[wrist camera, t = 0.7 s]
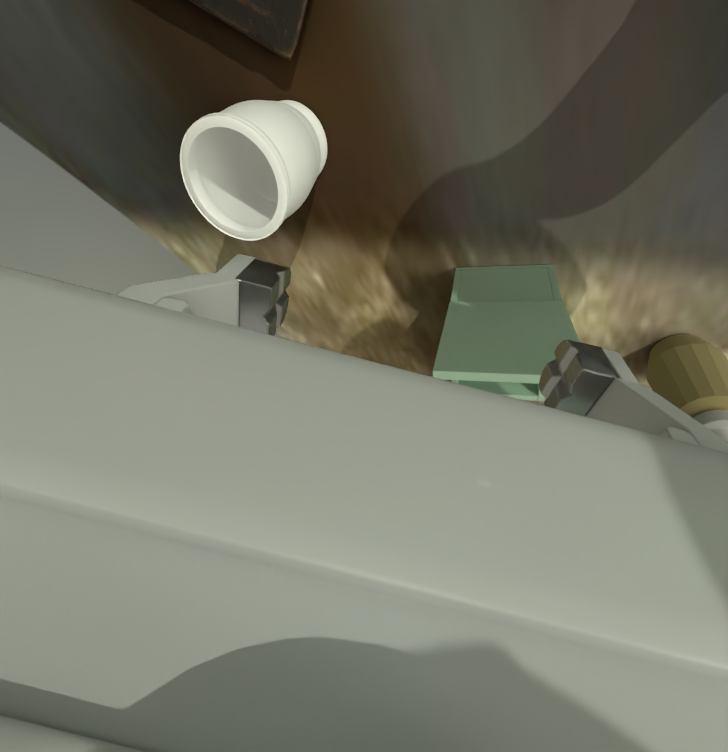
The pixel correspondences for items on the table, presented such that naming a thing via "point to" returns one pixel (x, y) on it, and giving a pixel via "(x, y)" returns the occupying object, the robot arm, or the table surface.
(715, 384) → the squeeze bottle
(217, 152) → the jar
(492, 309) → the green box lid
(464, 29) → the table surface
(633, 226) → the table surface
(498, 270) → the open green box
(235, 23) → the religious icon
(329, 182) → the table surface
